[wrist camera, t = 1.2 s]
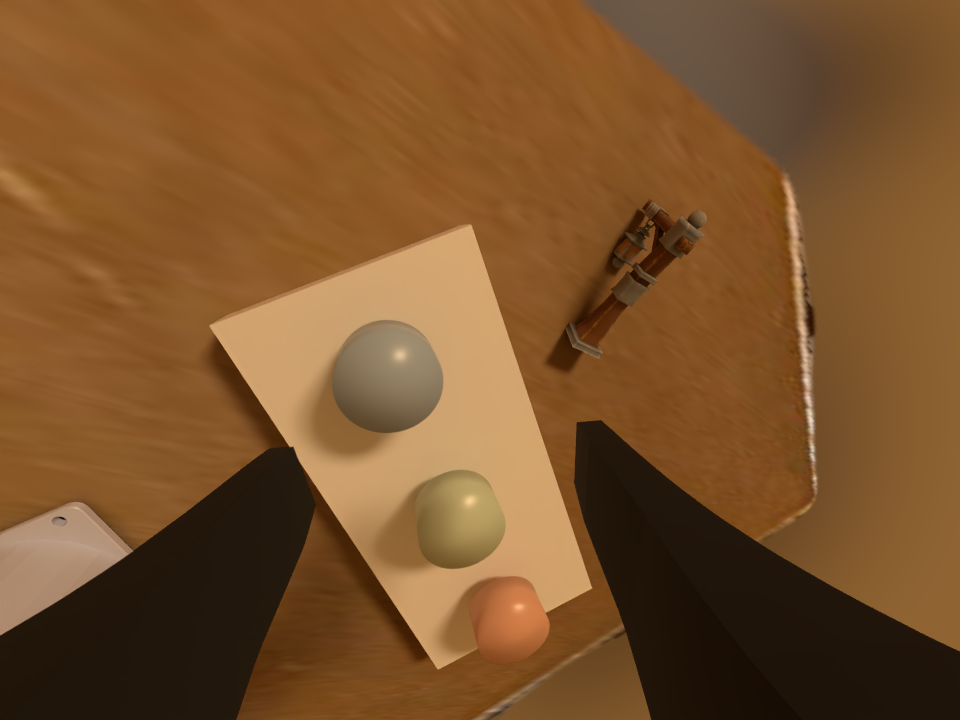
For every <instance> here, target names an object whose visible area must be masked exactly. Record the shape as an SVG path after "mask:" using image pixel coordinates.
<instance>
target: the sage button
mask: <svg viewBox="0 0 960 720" xmlns="http://www.w3.org/2000/svg"><path fill="white" fill-rule="evenodd" d="M414 511H415V519H416V526H417V533H418V540H419V546H420V550H421V552H422V554H423V556H424V557H425V558H426V559H427V560H428V561H429V562H430V563H432V564H434V565H436V566H438V567H441V568H446V569H460V568H465V567H469V566H472V565H474V564H477V563H479V562H480V561H482V560H484V559H485V558H487V557H488V556H489V555H490V554H492V553H493V552H494V551H495V549H496V548H497V547H498V546H499V544H500V542H501V541H502V539H503V536H504V533H505V528H506V521H505V517H504V514H503V512H502V509H501V507H500V505H499V503H498V500H497V498H496V496H495V494H494V492H493V489H492V487H491V485H490V483H489V482H488V481H487V480H486V479H485V478H484V477H483V476H482V475H480V474H478V473H476V472H473V471H469V470H453V471H448V472H445V473H442V474H440V475H438V476H436V477H435V478H433V479H432V480H430V481H429V482H428V483H427V484H426V485H425V486H424V487H423V488H422V490H421V491H420V493H419V494H418V496H417V499H416V502H415V508H414Z"/></svg>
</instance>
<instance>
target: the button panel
mask: <svg viewBox="0 0 960 720" xmlns="http://www.w3.org/2000/svg"><path fill="white" fill-rule="evenodd" d="M379 320H395V321H400V322H404V323H407V324H409V325H411V326H413V327H414V328H416V329H417V330H419V331H420V332H421V333H422V334H423V335H424V336H425V337H426V338H427V340H428V341H429V342H430V344H431V346H432V348H433V350H434V352H435V354H436V356H437V359H438V361H439V363H440V365H441V368H442V372H443V390H442V395H441V397H440V400H439V402H438V404H437V406H436V407H435V409H434V410H433V412H432V413H431V414H430V415H429V416H428V417H427V418H426V419H425V420H423V421H422V422H421V423H419V424H418V425H416V426H414V427H412V428H409V429H407V430H404V431H400V432H394V433H378V432H373V431H369V430H366V429H363V428H361V427H359V426H357V425H356V424H354V423H352V422H351V421H350V420H349V419H348V418H346V416H345V415H344V414H343V413H342V412H341V410H340V409H339V407H338V405H337V403H336V401H335V398H334V395H333V389H332V379H333V373H334V369H335V366H336V362H337V359H338V355H339V352H340V349H341V347H342V345H343V343H344V342H345V340H346V339H347V338H348V337H349V336H350V335H351V334H352V333H353V332H354V331H355V330H357V329H358V328H360V327H361V326H363V325H365V324H368V323H371V322H374V321H379ZM209 326H210V328H211V329H212V331H213V332H214V334H215V335H216V337H217V338H218V340H219V341H220V343H221V344H222V346H223V347H224V349H225V350H226V352H227V353H228V355H229V356H230V358H231V359H232V361H233V362H234V364H235V365H236V367H237V368H238V370H239V371H240V373H241V374H242V376H243V377H244V379H245V380H246V382H247V383H248V385H249V386H250V388H251V389H252V391H253V392H254V394H255V395H256V397H257V398H258V400H259V401H260V403H261V404H262V406H263V407H264V409H265V410H266V412H267V413H268V415H269V416H270V418H271V419H272V421H273V422H274V424H275V425H276V427H277V428H278V430H279V431H280V433H281V434H282V436H283V437H284V439H285V440H286V442H287V443H288V445H289V446H290V447H294V449H295V452H296V455H297V457H298V460H299V462H300V463H301V465H302V466H303V468H304V469H305V471H306V472H307V474H308V475H309V477H310V478H311V480H312V481H313V483H314V484H315V486H316V487H317V489H318V490H319V492H320V493H321V495H322V496H323V498H324V499H325V501H326V502H327V504H328V505H329V507H330V508H331V510H332V511H333V513H334V514H335V516H336V517H337V519H338V520H339V522H340V523H341V525H342V526H343V528H344V529H345V531H346V532H347V534H348V535H349V537H350V538H351V540H352V541H353V543H354V544H355V546H356V547H357V549H358V550H359V552H360V553H361V555H362V556H363V558H364V559H365V561H366V562H367V564H368V565H369V567H370V568H371V570H372V571H373V573H374V574H375V576H376V577H377V579H378V580H379V582H380V583H381V585H382V586H383V588H384V589H385V591H386V592H387V594H388V595H389V597H390V598H391V600H392V601H393V603H394V604H395V606H396V607H397V609H398V610H399V612H400V613H401V615H402V616H403V618H404V619H405V621H406V622H407V624H408V625H409V627H410V628H411V630H412V631H413V633H414V634H415V636H416V637H417V639H418V640H419V642H420V643H421V645H422V646H423V648H424V649H425V651H426V652H427V654H428V655H429V657H430V658H431V660H432V661H433V663H434V664H435V666H436V667H437V669H440V668H442V667H444V666H446V665H448V664H449V663H451V662H453V661H455V660H457V659H459V658H461V657H463V656H465V655H466V654H468V653H470V652H472V651H474V650H476V649H478V646H477V642H476V638H475V634H474V630H473V626H472V622H471V618H470V611H469V610H470V605H471V602H472V600H473V598H474V597H475V595H476V594H477V593H478V592H479V591H480V590H481V589H482V588H483V587H484V586H486V585H487V584H489V583H490V582H492V581H494V580H497V579H499V578H503V577H508V576H518V577H522V578H525V579H527V580H528V581H530V582H531V583H532V585H533V587H534V589H535V591H536V593H537V595H538V598H539V600H540V602H541V604H542V607H543V609H544V611H545V613H546V612H548V611H550V610H552V609H554V608H556V607H557V606H559V605H561V604H563V603H565V602H567V601H569V600H571V599H573V598H574V597H576V596H578V595H580V594H582V593H584V592H586V591H588V590H590V589H592V587H591V584H590V581H589V578H588V575H587V572H586V569H585V566H584V563H583V560H582V557H581V554H580V551H579V548H578V545H577V542H576V539H575V536H574V533H573V530H572V527H571V524H570V521H569V518H568V515H567V512H566V509H565V506H564V503H563V500H562V497H561V493H560V490H559V487H558V484H557V481H556V478H555V475H554V472H553V469H552V466H551V463H550V460H549V457H548V454H547V451H546V448H545V445H544V442H543V439H542V436H541V433H540V430H539V427H538V424H537V421H536V418H535V415H534V412H533V409H532V406H531V403H530V400H529V397H528V394H527V391H526V388H525V385H524V382H523V379H522V376H521V373H520V370H519V367H518V364H517V361H516V358H515V355H514V352H513V349H512V346H511V343H510V340H509V337H508V334H507V331H506V328H505V325H504V322H503V319H502V316H501V313H500V310H499V307H498V304H497V301H496V298H495V295H494V292H493V289H492V286H491V283H490V280H489V277H488V274H487V271H486V268H485V265H484V262H483V259H482V256H481V253H480V250H479V247H478V244H477V241H476V238H475V235H474V232H473V229H472V226H471V225H460V226H457V227H455V228H452V229H449V230H447V231H444V232H442V233H439V234H436V235H434V236H431V237H429V238H426V239H423V240H421V241H418V242H416V243H413V244H410V245H408V246H405V247H402V248H400V249H397V250H395V251H392V252H389V253H387V254H384V255H382V256H379V257H376V258H374V259H371V260H369V261H366V262H363V263H361V264H358V265H356V266H353V267H350V268H348V269H345V270H343V271H340V272H337V273H335V274H332V275H330V276H327V277H324V278H322V279H319V280H317V281H314V282H311V283H309V284H306V285H304V286H301V287H298V288H296V289H293V290H291V291H288V292H285V293H283V294H280V295H278V296H275V297H272V298H270V299H267V300H265V301H262V302H259V303H257V304H254V305H252V306H249V307H246V308H244V309H241V310H239V311H236V312H233V313H231V314H228V315H226V316H225V317H223V318H221V319H220V320H218V321H216V322H214V323H213V324H211V325H209ZM453 470H469V471H473V472H476V473H478V474H480V475H482V476H483V477H484V478H485V479H486V480H487V481H488V482H489V483H490V485H491V487H492V489H493V492H494V494H495V496H496V498H497V500H498V503H499V505H500V507H501V509H502V512H503V514H504V517H505V521H506V528H505V533H504V536H503V539H502V541H501V542H500V544H499V546H498V547H497V548H496V549H495V551H494V552H493V553H492V554H490V555H489V556H488V557H487V558H485V559H484V560H482V561H480V562H479V563H477V564H474V565H472V566H469V567H465V568H460V569H446V568H441V567H438V566H436V565H434V564H432V563H430V562H429V561H428V560H427V559H426V558H425V557H424V556H423V554H422V552H421V550H420V546H419V540H418V533H417V526H416V519H415V511H414V508H415V502H416V499H417V496H418V494H419V493H420V491H421V490H422V488H423V487H424V486H425V485H426V484H427V483H428V482H429V481H430V480H432V479H433V478H435V477H436V476H438V475H440V474H442V473H445V472H448V471H453Z"/></svg>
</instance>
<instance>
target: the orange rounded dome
mask: <svg viewBox="0 0 960 720" xmlns="http://www.w3.org/2000/svg"><path fill="white" fill-rule="evenodd" d="M469 611H470V618H471V622H472V626H473V630H474V634H475V638H476V642H477V646H478V650H479V653H480V656H481V657H482V658H483V659H484V660H485V661H487V662H489V663H491V664H495V665H507V664H512V663H515V662H518V661H521V660H523V659H525V658H527V657H528V656H530V655H531V654H533V653H534V652H535V651H536V650H537V649H538V648H539V647H540V646H541V645H542V644H543V643H544V641H545V639H546V638H547V635H548V633H549V626H550V625H549V620H548V618H547V615H546V613H545V611H544V609H543V607H542V604H541V602H540V600H539V598H538V595H537V593H536V591H535V589H534V587H533V585H532V583H531V582H530V581H528V580H527V579H525V578H522V577H518V576H508V577H503V578H499V579H497V580H494V581H492V582H490V583H489V584H487V585H486V586H484V587H483V588H482V589H481V590H480V591H479V592H478V593H477V594H476V595H475V597H474V598H473V600H472V602H471V605H470V610H469Z"/></svg>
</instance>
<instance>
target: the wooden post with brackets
mask: <svg viewBox="0 0 960 720" xmlns="http://www.w3.org/2000/svg"><path fill="white" fill-rule="evenodd" d="M642 209H643V210H644V212H645V213H646V214H645V215H646V216H647V217H648V218H649V219H648V221H647V222H646V225H645V226H644V227H637V228H638V230H639V231H640V232H637V231H636V234H633V233H628V232H625V233H624V234H625V235H626V236H627V237H626V238H625V240H624V241H623V242H622V243H621V244H620V245H619V246H618V247H617V248H616V249H615V250H614V251H613V252H614V253H615V255H616V257H614V258H613V260H612V265H613V266H614V267H615V268H620V267H622V266H623V265H624V262H625V263H627V264H629V265H632V262H633V260H634V259H635V257H636V256H637V255H638V253H639V252H640V251H641V250H642V249H644V250H647V248H646V246H645V243H644V240H643V239H646V238H645V237H644V235H645V236H647V237H650V235H649V233H648V231H649V229H650V228H652V227H653V226H654V225H655V228H656V230H655V235H654V241H653V246H652V252H651V253H650V254H649V255H648V256H647V257H646V258H645V259H644V260H643V261H642V262H641V263H640V264H638V263H637V262H636V263H635V264H634V265H633V266H631V267H632V268H633V269H634V270H633V271H632V272H631V273H629V272H628V271H627V272H626V274H625V276H624V277H623V278H622V279H621V280H620V282H619V283H618V284H617V285H616V286H615V287H613V288H612V289H611V290H612V292H613V293H612V294H611V295H610V296H609V297H608V298H607V299H606V300H605V301H604V302H603V303H602V304H601V305H600V306H599V307H598V308H597V309H596V310H595V311H594V312H592V313H591V314H590V315H589V316H588V317H587V318H586V319H585V320H583V321H582V322H581V323H579V324H578V325H577V326H576V325H574V324H572V323H569V325H568V326H567V327H566V328H565V329H566V331H567V334H568V336H569V339H570V341H571V344H572V346H573V347H574V348H576V349H579V350H581V351H583V352H585V353H587V354H590V355H592V356H594V357H596V358H598V359H599V356H600V355H601V354H602V350H601V348H600V346H599V345H600V343H601V341H602V339H603V338H604V336H605V335H606V333H607V332H608V330H609V329H610V328H611V326H612V325H613V323H614V322H615V321H616V319H617V318H618V316H619V315H620V314H621V313H622V312H623V311H624V310H625V308H626V307H627V306H628V305H629V306H631V307H632V306H633V304H634V303H635V301H636V300H637V299H638V298H639V297H640V296H641V295H642V294H644V293H645V292H646V291H648V290H649V288H648V287H647V286H648V285H649V284H650V283H651V284H652V285H654V284H655V282H657V281H658V280H657V279H656V277H657V276H658V275H659V274H660V273H661V272H662V271H663V270H664V269H665V268H666V267H667V266H668V265H669V264H670V263H671V262H672V261H673V260H674V259H675V258H676V257H679V258H680V259H681V258H682V256H683V255H684V254H686V255H687V254H688V253H689V252H690V251H691V250H692V249H693V248H694V247H695V243H696V242H697V241H698V240H699V239H700V238H702V237H703V236H705V235H704V234H703V233H702V232H701V231H700V230H699V229H698V228H700V227H702V226H703V225H704V224H705V223H706V220H707V217H706V214H705V213H704V212H702V211H696V212H693V213H692V214H691V215H690V216H689V217H688V220H686V219H685V218H684V217H682V216H680V218H679V219H678V221H677V222H676V223H675V222H674V221H673V220H672V219H671V218H670V216H671V215H670V214H669V213H668V212H666V211H665V210H664V209H663V208H661V207H660V206H658V205H657V204H656V203H654V202H653V201H651V200H650V199H649V201H648V202H647V203H646V204H645V206H644V207H643V208H642ZM650 220H651V221H653V222H654V224H653V225H652V226H650V225H649V224H648V222H649V221H650ZM646 227H647V228H648V229H645V228H646ZM664 232H665V235H664V236H663V234H664Z"/></svg>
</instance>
